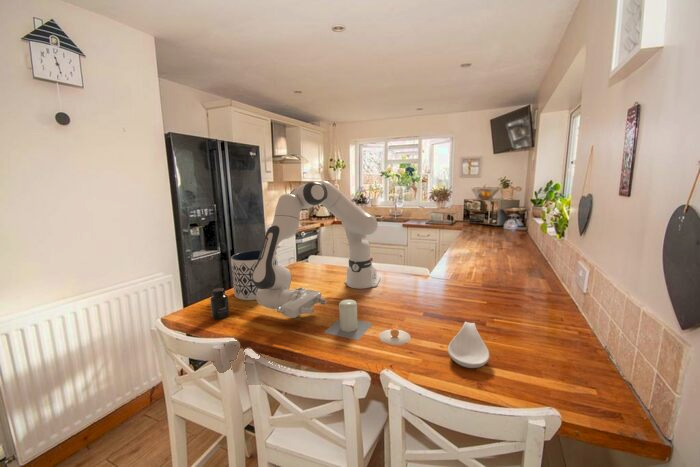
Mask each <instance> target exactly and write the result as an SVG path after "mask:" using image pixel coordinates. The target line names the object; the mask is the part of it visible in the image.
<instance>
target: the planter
mask: <svg viewBox="0 0 700 467" xmlns="http://www.w3.org/2000/svg"><path fill="white" fill-rule="evenodd" d="M260 252H261V249H257V250H256V249H255V250H248V251H241V252H238V253H236V254H233V255H232V256H230V265H231V274H232V284H233V286H232V287H233V293H234V297H235V298H237V299H239V300H242V301H257V300H256V292H257V290H258V289H259V288H257V287H256V286H255V285H254V283H253V280H252V273H253V270H254V268H255V266H256V264H257V262H258V259H259V255H260ZM278 264H279V263H278V253H277V252H276V254H275V257H274V261H273V265H274V266H279V265H278Z"/></svg>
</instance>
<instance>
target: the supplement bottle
mask: <svg viewBox="0 0 700 467" xmlns="http://www.w3.org/2000/svg"><path fill="white" fill-rule="evenodd" d="M211 293H212V296H211V297H210V299H209V300H210V308H211V310H210V311H211V318H212V319H213V320H224V319H226V318H228V317H229V316H230V307H229V297H228V295H227V294H226V291H225V288H223V287H218V288H214V289H212V291H211Z"/></svg>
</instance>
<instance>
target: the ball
mask: <svg viewBox="0 0 700 467" xmlns="http://www.w3.org/2000/svg"><path fill="white" fill-rule="evenodd" d="M391 329H392V330H391V332H390V333H391V335H392V336H393V337H397V336H398V335H399V331H398V330H399V329H398V328H396V327H395V328H391Z"/></svg>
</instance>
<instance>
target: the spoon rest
mask: <svg viewBox="0 0 700 467" xmlns="http://www.w3.org/2000/svg"><path fill="white" fill-rule="evenodd" d="M447 353H448V355H449V357H450V358H451V359H452V361H454V362H455V363H456V364H458V365H459V366H461V367H463V368H468V369H477V368H480V367H482V366H485V365H486V364H487V362H489V359H490V351H489V349H488V347H487V345H486V344H485V341H484V340H483V338H482V336H481V335H480V333H479V331H478V329H477V327H476V323H475V322H469V321H468V322H467V321H464V323H463V325H462V327H461V328H460V330H459V331H458V332H457V334H455V336H454V337H453V338H452V339H451V341H450V342H449V344H448V346H447Z"/></svg>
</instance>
